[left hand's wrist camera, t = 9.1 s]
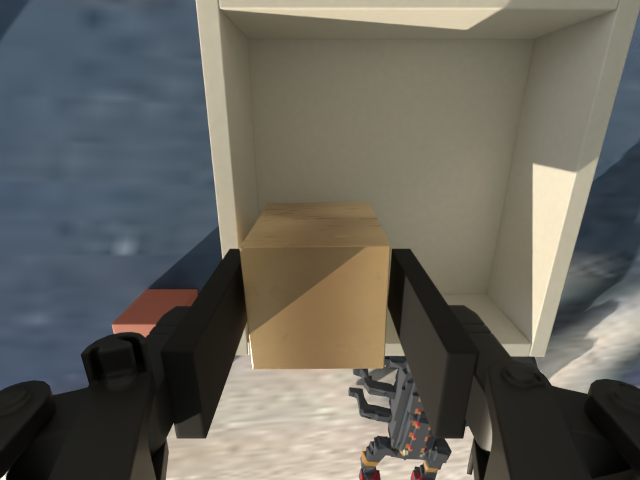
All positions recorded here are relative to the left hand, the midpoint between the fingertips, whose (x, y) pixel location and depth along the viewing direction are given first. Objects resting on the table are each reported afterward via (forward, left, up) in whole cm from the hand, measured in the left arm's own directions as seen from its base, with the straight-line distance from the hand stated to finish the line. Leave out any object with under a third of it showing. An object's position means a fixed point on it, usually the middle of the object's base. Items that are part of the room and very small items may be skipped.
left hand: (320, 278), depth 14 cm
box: (+3, +7, -7) cm, 11 cm away
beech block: (0, 0, -3) cm, 3 cm away
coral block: (-14, -12, -17) cm, 25 cm away
